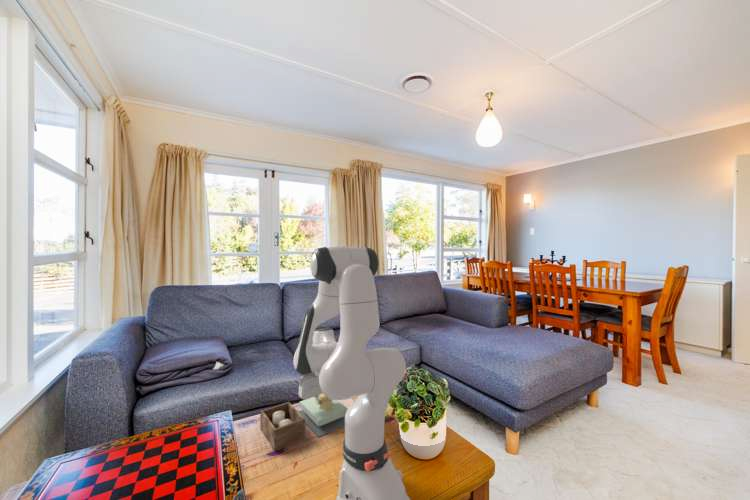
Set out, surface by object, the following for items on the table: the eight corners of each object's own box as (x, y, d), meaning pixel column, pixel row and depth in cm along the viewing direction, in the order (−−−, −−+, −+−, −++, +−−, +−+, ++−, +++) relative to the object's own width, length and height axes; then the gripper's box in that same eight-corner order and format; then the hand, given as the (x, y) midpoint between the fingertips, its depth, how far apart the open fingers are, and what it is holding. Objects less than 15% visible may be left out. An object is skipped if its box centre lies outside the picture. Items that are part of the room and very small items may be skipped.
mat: (353, 422, 116) (353, 421, 116) (318, 437, 107) (318, 436, 107) (328, 401, 132) (328, 400, 132) (295, 412, 123) (295, 412, 123)
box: (305, 438, 107) (304, 418, 106) (274, 451, 100) (274, 430, 100) (288, 419, 118) (288, 401, 118) (260, 429, 112) (260, 411, 112)
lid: (348, 414, 117) (348, 400, 117) (318, 426, 109) (318, 411, 109) (327, 397, 130) (327, 384, 130) (299, 406, 122) (299, 393, 122)
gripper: (302, 378, 110) (302, 415, 111) (349, 364, 123) (349, 397, 123) (295, 372, 115) (295, 407, 116) (341, 360, 128) (341, 391, 128)
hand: (323, 402), depth 120 cm, fingers closed on lid, 3 cm apart
